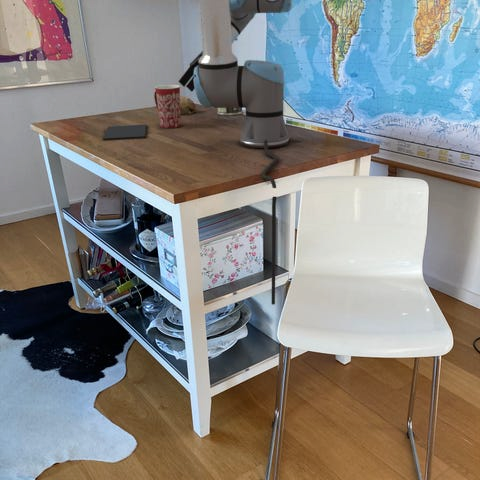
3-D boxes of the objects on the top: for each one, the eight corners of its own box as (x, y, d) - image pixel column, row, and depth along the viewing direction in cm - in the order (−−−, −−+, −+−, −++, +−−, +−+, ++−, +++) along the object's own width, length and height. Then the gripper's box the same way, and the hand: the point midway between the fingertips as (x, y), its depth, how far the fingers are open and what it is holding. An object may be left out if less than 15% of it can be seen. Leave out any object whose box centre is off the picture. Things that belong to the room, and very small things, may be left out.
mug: (188, 126, 190) (185, 86, 183) (167, 129, 185) (163, 89, 178) (169, 121, 198) (166, 83, 191) (149, 125, 193) (144, 85, 186)
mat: (145, 138, 175) (145, 136, 174) (103, 140, 173) (102, 138, 173) (146, 126, 192) (146, 124, 191) (108, 128, 190) (108, 126, 190)
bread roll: (181, 124, 210) (187, 106, 205) (163, 111, 212) (168, 92, 207) (196, 120, 217) (202, 102, 212) (178, 107, 219) (183, 89, 214)
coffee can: (245, 111, 213) (245, 73, 205) (237, 115, 204) (236, 76, 197) (222, 110, 216) (220, 73, 208) (213, 114, 207) (211, 76, 200)
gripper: (240, 47, 174) (200, 99, 179) (221, 43, 195) (185, 89, 199) (225, 30, 170) (184, 83, 175) (206, 27, 191) (170, 75, 195)
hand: (184, 86), depth 187 cm, fingers open, 13 cm apart
